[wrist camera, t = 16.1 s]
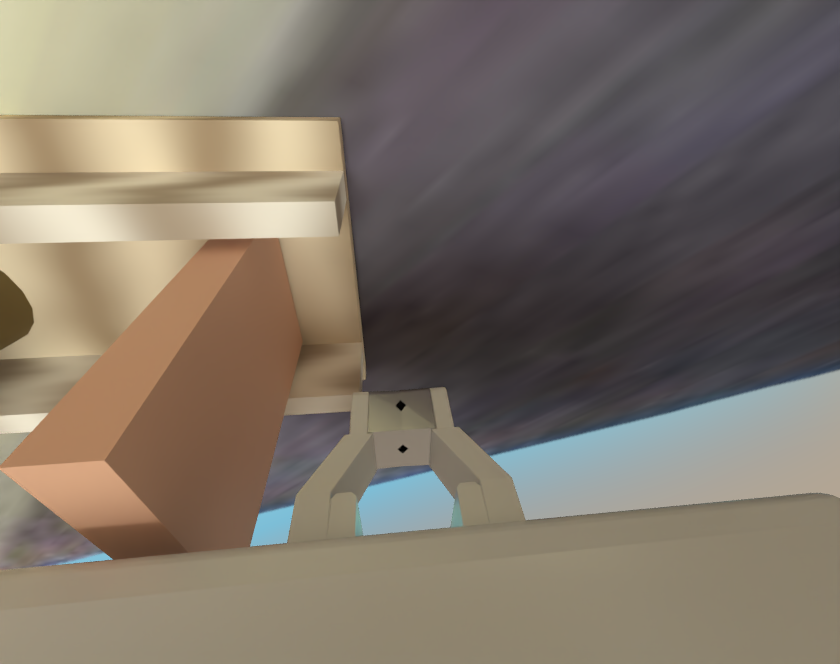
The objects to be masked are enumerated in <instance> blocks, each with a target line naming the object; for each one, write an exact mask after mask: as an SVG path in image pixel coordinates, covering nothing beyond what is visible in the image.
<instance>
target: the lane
mask: <svg viewBox="0 0 840 664" xmlns="http://www.w3.org/2000/svg"><path fill="white" fill-rule="evenodd" d="M246 238H278V239H279V243H280V247H281V252H282V256H283V260H284V264H285V269H286V273H287V277H288V281H289V285H290V290H291V294H292V298H293V302H294V307H295V311H296V315H297V319H298V323H299V328H300V332H301V336H302V340H303V343H302V347H301V351H300V354H299V358H298V362H297V366H296V370H295V374H294V378H293V382H292V385H291V389H290V393H289V397H288V401H287V405H286V409H285V412H284V415H299V414H315V413H330V412H346V411H351V404H352V395H353V392H362V380H365V379H366V362H365V353H364V343H363V333H362V324H361V314H360V304H359V295H358V285H357V275H356V266H355V256H354V246H353V237H352V227H351V217H350V207H349V198H348V188H347V178H346V169H345V159H344V149H343V140H342V130H341V120H340V117H207V116H59V115H0V270H1V271H2V272H4V273H5V274H6V275H7V276H8V277H9V278H10V279H11V280H12V281H13V282H14V283H15V284H16V285H17V286H18V287H19V288H20V289H21V290H22V291H23V293H24V294H25V296H26V298H27V300H28V302H29V303H30V305H31V307H32V310H33V319H34V324H33V326H32V327H31V329H30V331H29V333H28V334H27V335H26V336H24V337H22V338H21V339H19V340H17V341H16V342H14V343H12V344H11V345H9V346H7V347H5V348H4V349H2V350H0V434H4V433H19V432H32V431H33V430H34V429H35V427H36V426H37V425H38V424H39V423H40V422H41V421H42V420H43V419H44V418H45V417H46V416H47V414H48V413H49V412H50V411H51V410H52V409H53V408H54V407H55V406H56V405H57V404H58V403H59V401H60V400H61V399H62V398H63V397H64V396H65V395H66V394H67V393H68V392H69V391H70V390H71V388H72V387H73V386H74V385H75V384H76V383H77V382H78V381H79V380H80V379H81V378H82V377H83V375H84V374H85V373H86V372H87V371H88V370H89V369H90V368H91V367H92V366H93V365H94V363H95V362H96V361H97V360H98V359H99V358H100V357H101V356H102V355H103V354H104V353H105V352H106V350H107V349H108V348H109V347H110V346H111V345H112V344H113V343H114V342H115V341H116V340H117V339H118V337H119V336H120V335H121V334H122V333H123V332H124V331H125V330H126V329H127V328H128V327H129V326H130V324H131V323H132V322H133V321H134V320H135V319H136V318H137V317H138V316H139V315H140V314H141V312H142V311H143V310H144V309H145V308H146V307H147V306H148V305H149V304H150V303H151V302H152V301H153V299H154V298H155V297H156V296H157V295H158V294H159V293H160V292H161V291H162V290H163V289H164V288H165V286H166V285H167V284H168V283H169V282H170V281H171V280H172V279H173V278H174V277H175V276H176V275H177V273H178V272H179V271H180V270H181V269H182V268H183V267H184V266H185V265H186V264H187V263H188V262H189V260H190V259H191V258H192V257H193V256H194V255H195V254H196V253H197V252H198V251H199V250H200V248H201V247H202V246H203V245H204V244H205V243H206V242H207V241H208V240H209V239H246Z"/></svg>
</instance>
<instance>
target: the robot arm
mask: <svg viewBox="0 0 840 664" xmlns="http://www.w3.org/2000/svg"><path fill="white" fill-rule="evenodd" d="M414 465H430V467H431V469H432V470H433V471H434V472H435V474H436V475H437V476H438V478H439V479H440V480H441V482H442V483H443V484H444V486H445V487H446V488H447V490H448V491H449V492H450V494H451V495H452V496H453V498H454V499H455V502H454V508H453V514H452V521H451V527H450V528H440V529H430V530H419V531H408V532H399V533H388V534H377V535H367V536H363V532H362V525H361V520H360V514H359V508H358V502H359V501H360V499H361V497H362V496H363V493H364V492H365V490H366V489H367V487H368V485H369V483H370V482H371V480H372V478H373V476H374V475H375V473H376V471H377V469H380V468H389V467H399V466H414ZM0 664H840V498H838V497H835V496H833V495H829V494H823V493H806V494H796V495H786V496H775V497H766V498H754V499H744V500H734V501H724V502H713V503H703V504H692V505H682V506H671V507H660V508H650V509H639V510H629V511H618V512H608V513H598V514H587V515H577V516H566V517H557V518H546V519H535V520H525V517H524V514H523V511H522V508H521V505H520V501H519V498H518V495H517V492H516V489H515V486H514V483H513V480H512V477H511V476H510V475H509V474H507V473H506V472H505V471H504V470H503V469H502V468H501V467H500V466H499V465H498V464H497V463H496V462H495V461H494V460H493V459H492V458H491V457H490V456H489V455H488V454H487V453H485V452H484V451H483V450H482V449H481V448H480V447H479V446H478V445H477V444H476V443H475V442H474V441H473V440H472V439H471V438H470V437H469V436H468V435H467V434H466V433H465V432H464V431H462V430H461V429H460V428H459V427H454V423H453V419H452V414H451V409H450V405H449V400H448V395H447V391H446V388H445V387H438V388H430V389H429V388H422V389H408V390H399V391H370V392H353V395H352V404H351V418H350V432H349V435H344V436H343V438H342V439H341V440H340V441H339V443H338V444H337V445H336V446H335V448H334V449H333V450H332V451H331V453H330V454H329V455H328V456H327V458H326V459H325V460H324V461H323V462H322V464H321V465H320V466H319V467H318V469H317V470H316V471H315V472H314V474H313V475H312V476H311V477H310V479H309V480H308V481H307V482H306V484H305V485H304V486H303V487H302V489H301V490H300V491H299V492H298V494H297V495H296V499H295V504H294V509H293V515H292V520H291V525H290V531H289V536H288V542H287V543H283V544H273V545H262V546H252V547H241V548H231V549H220V550H210V551H199V552H189V553H178V554H168V555H157V556H147V557H136V558H126V559H115V560H105V561H95V562H84V563H74V564H63V565H52V566H41V567H31V568H20V569H9V570H0Z"/></svg>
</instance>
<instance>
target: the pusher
mask: <svg viewBox="0 0 840 664" xmlns="http://www.w3.org/2000/svg"><path fill="white" fill-rule="evenodd" d="M302 343H303V340H302V336H301V332H300V328H299V323H298V319H297V315H296V311H295V307H294V302H293V298H292V294H291V290H290V285H289V281H288V277H287V273H286V269H285V264H284V260H283V256H282V252H281V247H280V243H279V239H278V238H246V239H209V240H208V241H207V242H206V243H205V244H204V245H203V246H202V247H201V248H200V250H199V251H198V252H197V253H196V254H195V255H194V256H193V257H192V258H191V259H190V260H189V262H188V263H187V264H186V265H185V266H184V267H183V268H182V269H181V270H180V271H179V272H178V273H177V275H176V276H175V277H174V278H173V279H172V280H171V281H170V282H169V283H168V284H167V285H166V286H165V288H164V289H163V290H162V291H161V292H160V293H159V294H158V295H157V296H156V297H155V298H154V299H153V301H152V302H151V303H150V304H149V305H148V306H147V307H146V308H145V309H144V310H143V311H142V312H141V314H140V315H139V316H138V317H137V318H136V319H135V320H134V321H133V322H132V323H131V324H130V326H129V327H128V328H127V329H126V330H125V331H124V332H123V333H122V334H121V335H120V336H119V337H118V339H117V340H116V341H115V342H114V343H113V344H112V345H111V346H110V347H109V348H108V349H107V350H106V352H105V353H104V354H103V355H102V356H101V357H100V358H99V359H98V360H97V361H96V362H95V363H94V365H93V366H92V367H91V368H90V369H89V370H88V371H87V372H86V373H85V374H84V375H83V377H82V378H81V379H80V380H79V381H78V382H77V383H76V384H75V385H74V386H73V387H72V388H71V390H70V391H69V392H68V393H67V394H66V395H65V396H64V397H63V398H62V399H61V400H60V401H59V403H58V404H57V405H56V406H55V407H54V408H53V409H52V410H51V411H50V412H49V413H48V414H47V416H46V417H45V418H44V419H43V420H42V421H41V422H40V423H39V424H38V425H37V426H36V427H35V429H34V430H33V431H32V432H31V433H30V434H29V435H28V436H27V437H26V438H25V439H24V441H23V442H22V443H21V444H20V445H19V446H18V447H17V448H16V449H15V450H14V451H13V452H12V454H11V455H10V456H9V457H8V458H7V459H6V460H5V461H4V462H3V463H2V464H1V465H0V470H1V471H2V472H4V473H5V474H6V475H7V476H9V477H10V478H11V479H12V480H14V481H15V482H16V483H17V484H19V485H20V486H21V487H22V488H24V489H25V490H26V491H28V492H29V493H30V494H31V495H33V496H34V497H35V498H36V499H38V500H39V501H40V502H41V503H43V504H44V505H45V506H46V507H48V508H49V509H50V510H52V511H53V512H54V513H55V514H57V515H58V516H59V517H60V518H62V519H63V520H64V521H65V522H67V523H68V524H69V525H70V526H72V527H73V528H74V529H75V530H77V531H78V532H79V533H81V534H82V535H83V536H84V537H86V538H87V539H88V540H89V541H91V542H92V543H93V544H94V545H96V546H97V547H98V548H99V549H101V550H102V551H103V552H104V553H106V554H107V555H108V556H110V557H111V558H112V559H113V560H115V559H126V558H136V557H147V556H157V555H168V554H178V553H189V552H199V551H210V550H220V549H231V548H241V547H250V544H251V540H252V535H253V532H254V528H255V524H256V521H257V517H258V513H259V509H260V505H261V501H262V497H263V494H264V490H265V486H266V482H267V478H268V474H269V470H270V467H271V463H272V459H273V455H274V451H275V447H276V443H277V439H278V436H279V432H280V428H281V424H282V420H283V416H284V412H285V409H286V405H287V401H288V397H289V393H290V389H291V385H292V382H293V378H294V374H295V370H296V366H297V362H298V358H299V354H300V351H301V347H302Z"/></svg>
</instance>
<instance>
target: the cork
mask: <svg viewBox="0 0 840 664" xmlns="http://www.w3.org/2000/svg"><path fill="white" fill-rule="evenodd" d="M33 324H34V319H33V310H32V307H31V305H30V303H29V302H28V300H27V298H26V296H25V294H24V293H23V291H22V290H21V289H20V288H19V287H18V286H17V285H16V284H15V283H14V282H13V281H12V280H11V279H10V278H9V277H8V276H7V275H6V274H5V273H4V272H2V271H1V270H0V350H2V349H4V348H5V347H7V346H9V345H11V344H12V343H14V342H16V341H17V340H19V339H21V338H22V337H24V336H26V335H27V334H28V333H29V331H30V329H31V327H32V326H33Z"/></svg>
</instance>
